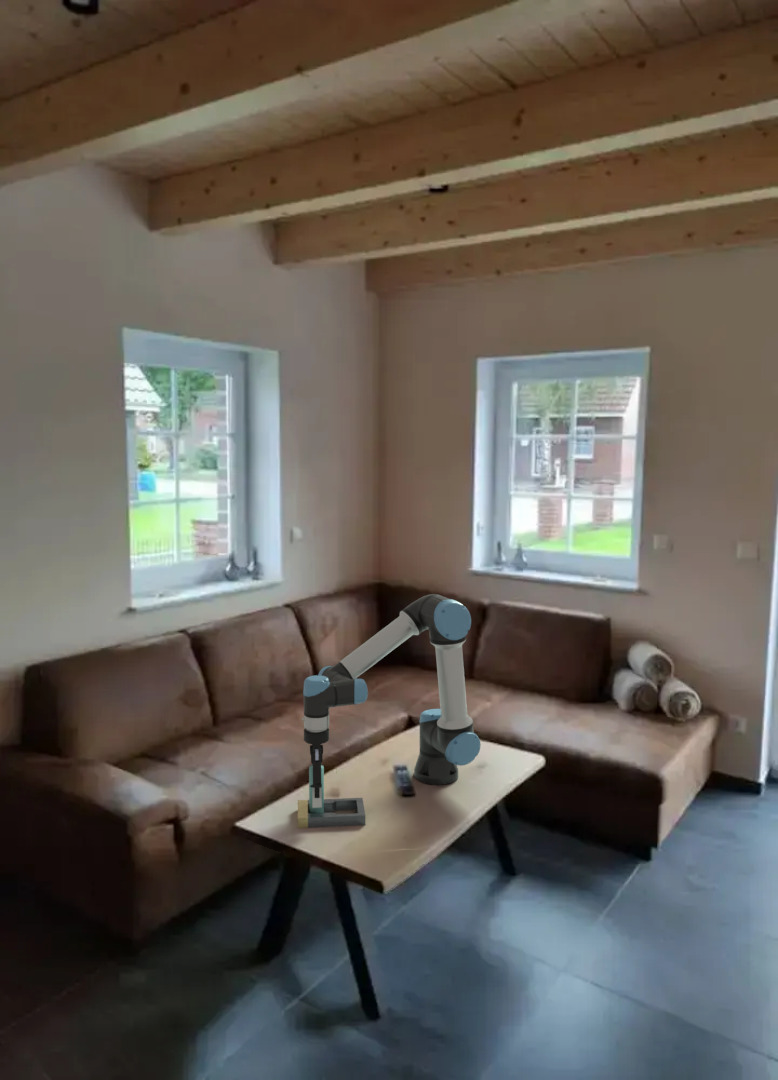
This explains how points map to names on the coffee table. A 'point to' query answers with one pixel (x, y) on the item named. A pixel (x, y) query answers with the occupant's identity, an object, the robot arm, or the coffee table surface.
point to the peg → (311, 810)
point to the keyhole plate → (332, 818)
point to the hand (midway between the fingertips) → (316, 798)
